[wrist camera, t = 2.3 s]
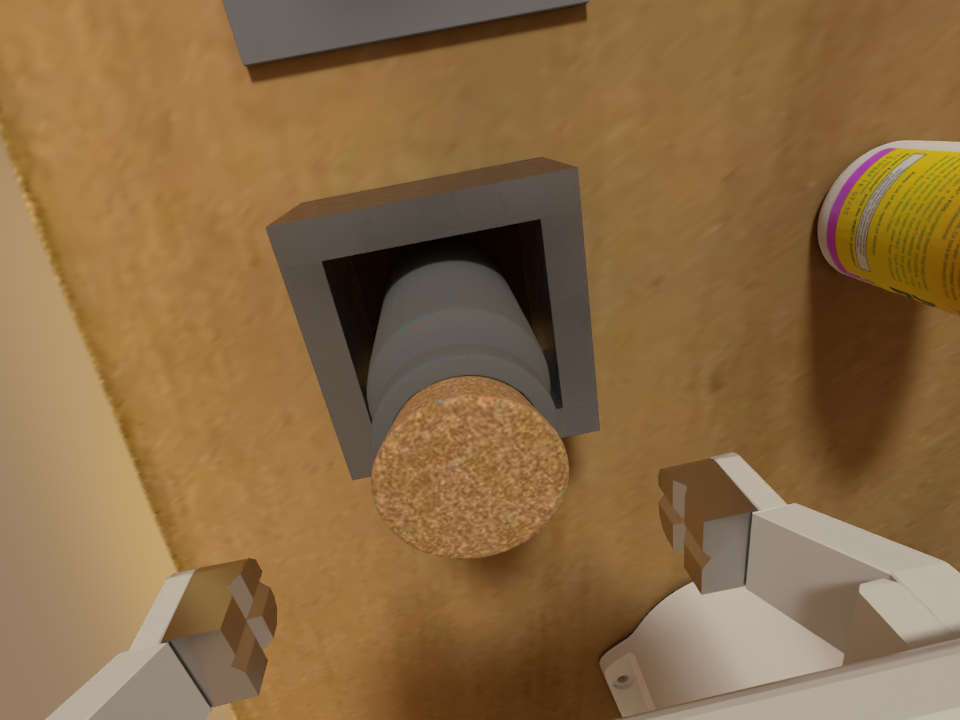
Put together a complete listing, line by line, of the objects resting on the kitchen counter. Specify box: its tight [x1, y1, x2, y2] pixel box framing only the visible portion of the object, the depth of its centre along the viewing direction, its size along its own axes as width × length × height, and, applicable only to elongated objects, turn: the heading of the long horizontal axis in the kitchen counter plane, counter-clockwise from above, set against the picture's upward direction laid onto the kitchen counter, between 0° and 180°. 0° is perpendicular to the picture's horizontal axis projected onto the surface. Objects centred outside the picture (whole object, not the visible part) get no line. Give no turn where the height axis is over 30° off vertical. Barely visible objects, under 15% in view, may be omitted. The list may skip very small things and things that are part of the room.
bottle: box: [367, 237, 569, 559], centre depth 19 cm, size 6×6×15 cm
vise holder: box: [266, 157, 600, 480], centre depth 24 cm, size 17×11×6 cm, turn 10°
